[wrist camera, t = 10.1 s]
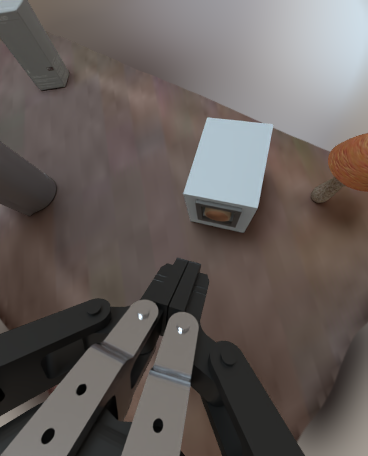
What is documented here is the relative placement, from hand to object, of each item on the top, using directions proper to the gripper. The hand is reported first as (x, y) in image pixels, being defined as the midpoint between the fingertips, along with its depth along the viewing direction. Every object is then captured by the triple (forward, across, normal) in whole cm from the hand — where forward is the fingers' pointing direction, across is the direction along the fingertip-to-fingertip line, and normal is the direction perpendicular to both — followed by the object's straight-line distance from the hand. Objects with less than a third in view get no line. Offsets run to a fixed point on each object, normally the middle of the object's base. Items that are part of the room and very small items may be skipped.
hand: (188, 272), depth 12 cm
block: (+28, 0, -3) cm, 28 cm away
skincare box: (+47, -55, +15) cm, 74 cm away
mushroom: (+30, +17, -1) cm, 34 cm away
